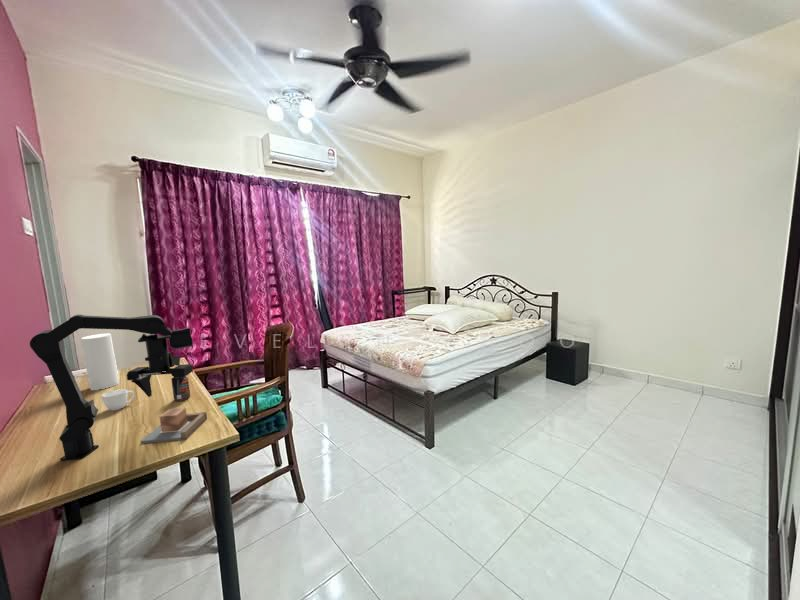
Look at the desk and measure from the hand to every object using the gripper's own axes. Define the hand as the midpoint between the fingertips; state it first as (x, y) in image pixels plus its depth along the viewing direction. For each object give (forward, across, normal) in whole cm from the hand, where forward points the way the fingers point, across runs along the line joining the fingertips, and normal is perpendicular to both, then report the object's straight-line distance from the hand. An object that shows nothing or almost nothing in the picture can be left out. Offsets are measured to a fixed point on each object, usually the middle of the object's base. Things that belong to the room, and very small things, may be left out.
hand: (163, 395), depth 114 cm
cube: (+11, -3, +2) cm, 12 cm away
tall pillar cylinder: (+12, +59, -49) cm, 78 cm away
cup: (+12, +32, -21) cm, 40 cm away
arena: (+12, -4, +2) cm, 13 cm away
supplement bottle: (+12, +10, -26) cm, 30 cm away
